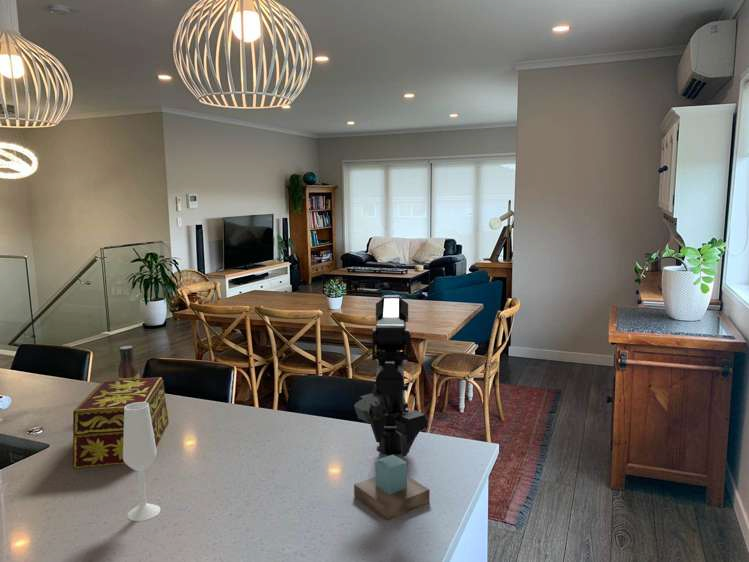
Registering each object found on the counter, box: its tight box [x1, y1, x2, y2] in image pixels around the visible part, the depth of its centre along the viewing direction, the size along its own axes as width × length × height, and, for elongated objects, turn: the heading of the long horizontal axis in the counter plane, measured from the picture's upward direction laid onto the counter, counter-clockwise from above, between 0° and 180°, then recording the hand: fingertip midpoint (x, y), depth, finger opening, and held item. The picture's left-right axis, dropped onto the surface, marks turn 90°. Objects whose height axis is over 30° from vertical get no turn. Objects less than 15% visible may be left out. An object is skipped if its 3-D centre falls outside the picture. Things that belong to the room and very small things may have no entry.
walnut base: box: [353, 475, 431, 521], centre depth 126 cm, size 12×12×3 cm
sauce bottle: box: [118, 345, 141, 380], centre depth 186 cm, size 7×6×20 cm
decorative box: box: [72, 376, 170, 469], centre depth 156 cm, size 28×19×15 cm
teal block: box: [374, 455, 408, 495], centre depth 125 cm, size 5×5×6 cm
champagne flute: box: [123, 402, 161, 522], centre depth 120 cm, size 7×7×24 cm
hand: (391, 448), depth 124 cm, fingers open, 9 cm apart
